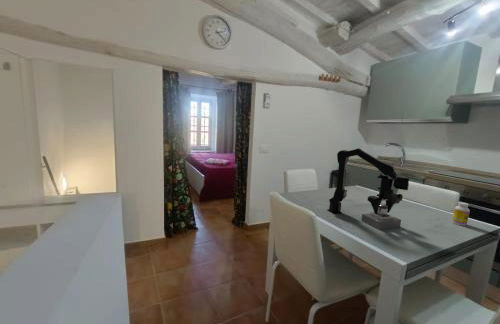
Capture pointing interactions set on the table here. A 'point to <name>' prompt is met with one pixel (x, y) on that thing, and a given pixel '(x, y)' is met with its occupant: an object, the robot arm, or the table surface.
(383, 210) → the lens
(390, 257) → the table surface
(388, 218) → the grey flat block
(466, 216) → the supplement bottle
